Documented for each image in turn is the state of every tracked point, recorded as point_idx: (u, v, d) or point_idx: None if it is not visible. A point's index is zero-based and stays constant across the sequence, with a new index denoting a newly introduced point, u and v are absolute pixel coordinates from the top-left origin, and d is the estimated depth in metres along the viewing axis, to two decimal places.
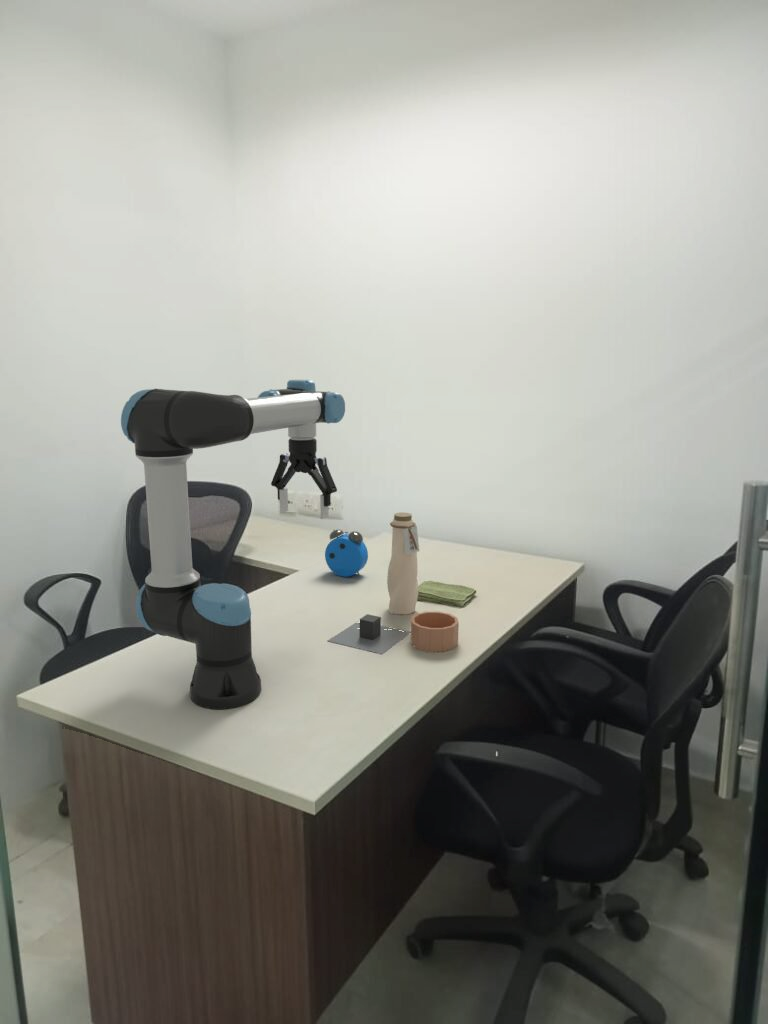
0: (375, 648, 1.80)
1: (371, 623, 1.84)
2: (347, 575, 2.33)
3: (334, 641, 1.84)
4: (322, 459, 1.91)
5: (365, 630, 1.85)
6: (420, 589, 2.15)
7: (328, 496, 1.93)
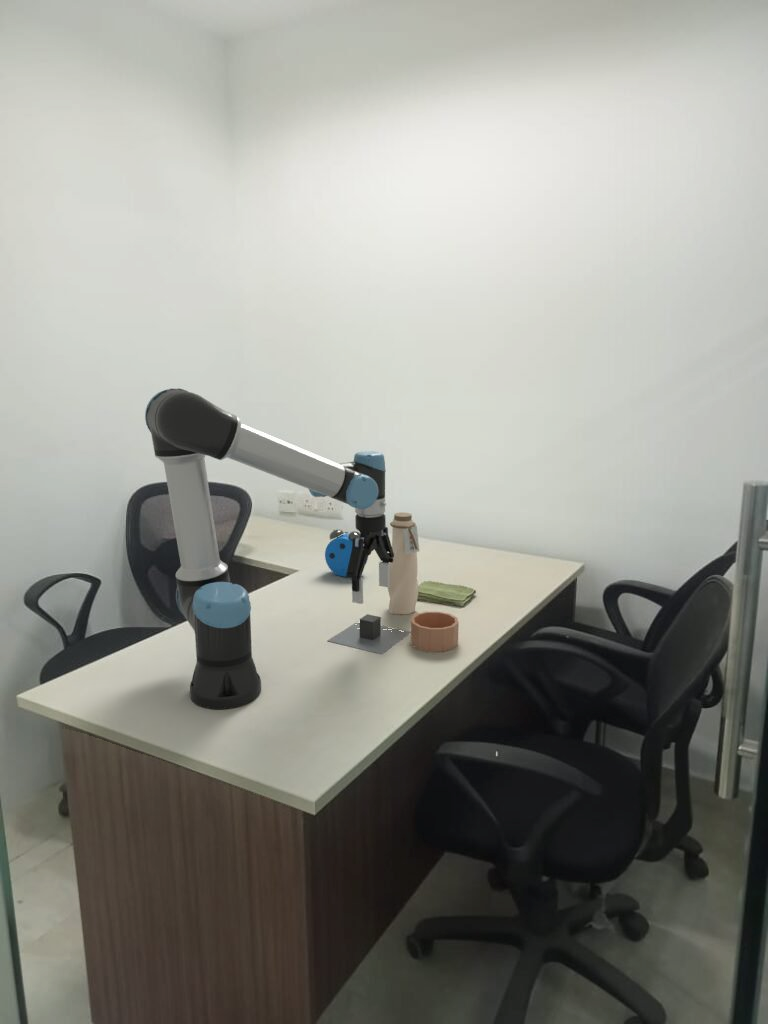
0: (375, 648, 1.80)
1: (371, 623, 1.84)
2: None
3: (334, 641, 1.84)
4: (355, 540, 1.75)
5: (365, 630, 1.85)
6: (420, 589, 2.15)
7: (353, 580, 1.76)
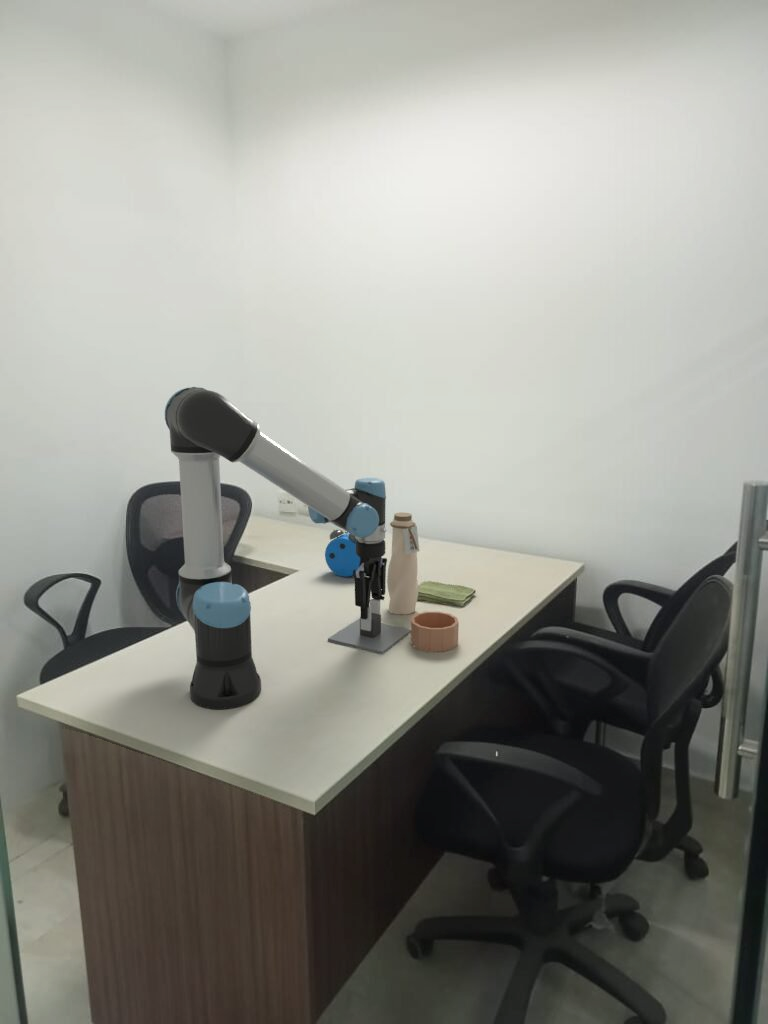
0: (375, 646, 1.80)
1: (371, 620, 1.84)
2: (347, 575, 2.33)
3: (334, 639, 1.84)
4: (355, 573, 1.77)
5: None
6: (420, 589, 2.15)
7: (362, 609, 1.82)
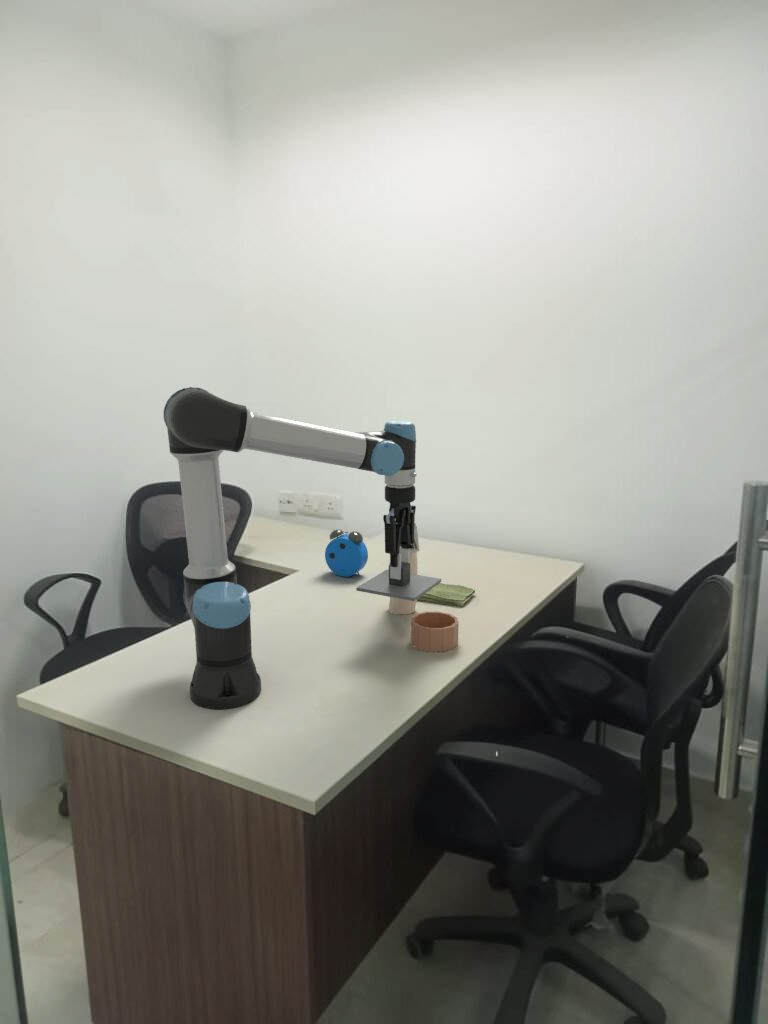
0: (406, 593, 1.75)
1: (401, 568, 1.79)
2: (347, 575, 2.33)
3: (363, 588, 1.79)
4: (385, 518, 1.73)
5: None
6: None
7: (391, 556, 1.77)
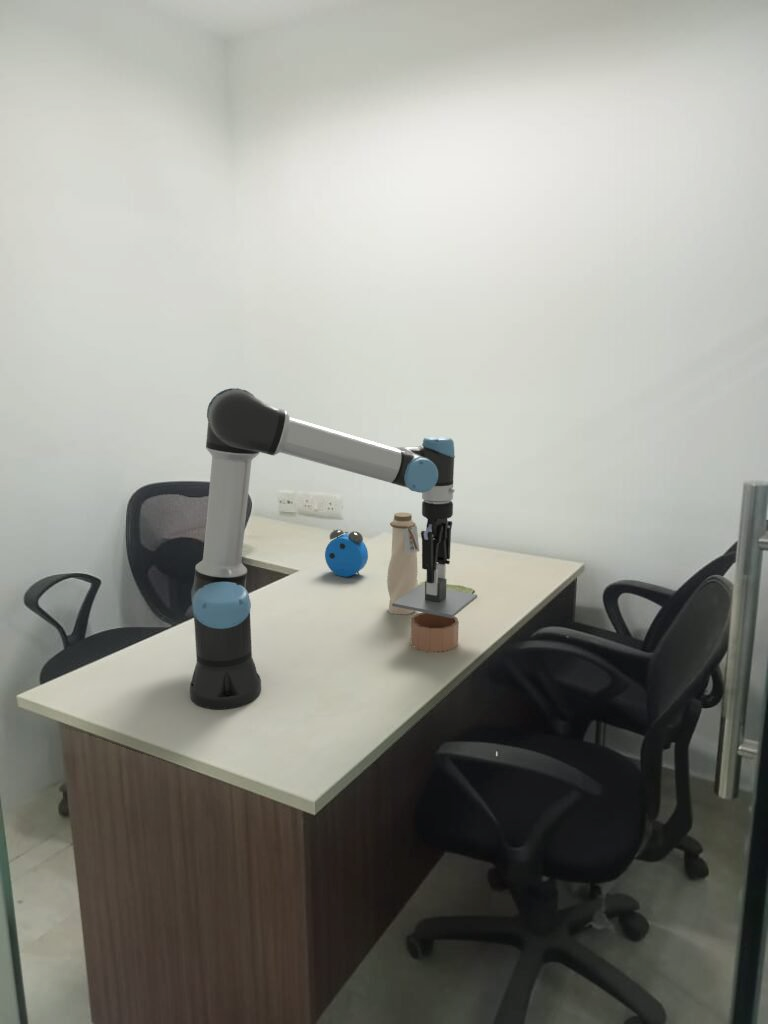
0: (443, 610, 1.74)
1: None
2: (347, 575, 2.33)
3: (399, 603, 1.78)
4: (423, 534, 1.72)
5: None
6: None
7: (428, 572, 1.76)
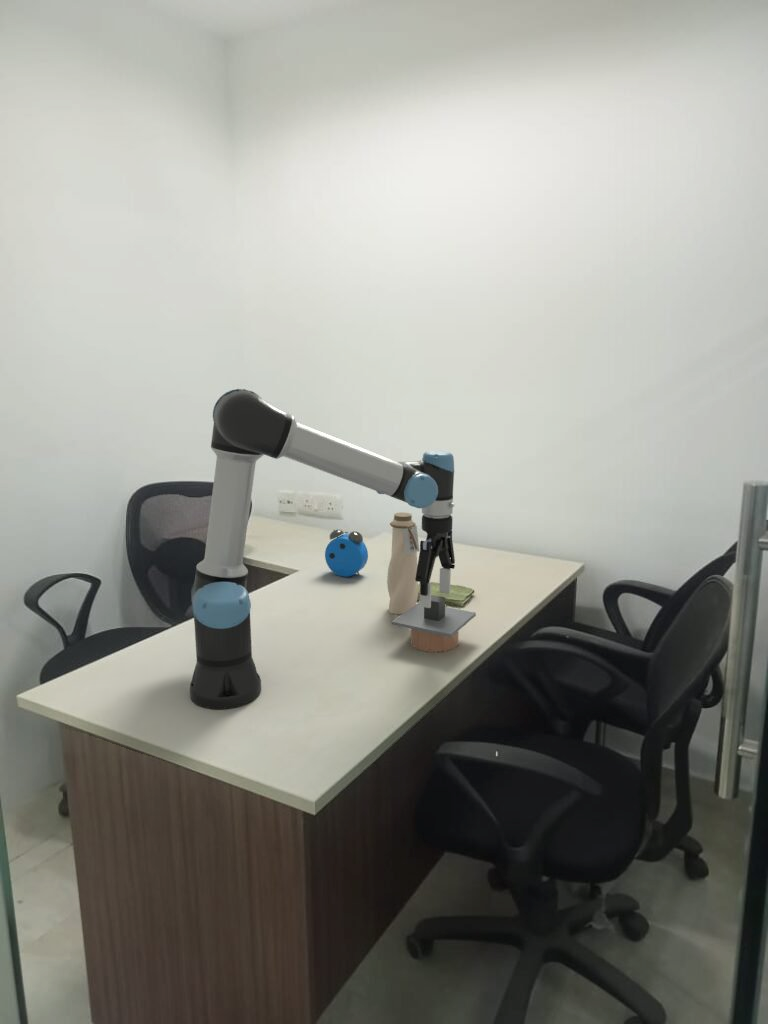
0: (442, 629, 1.75)
1: (436, 603, 1.79)
2: (347, 575, 2.33)
3: (399, 622, 1.79)
4: (422, 543, 1.72)
5: (430, 611, 1.80)
6: (419, 590, 2.15)
7: (422, 584, 1.74)
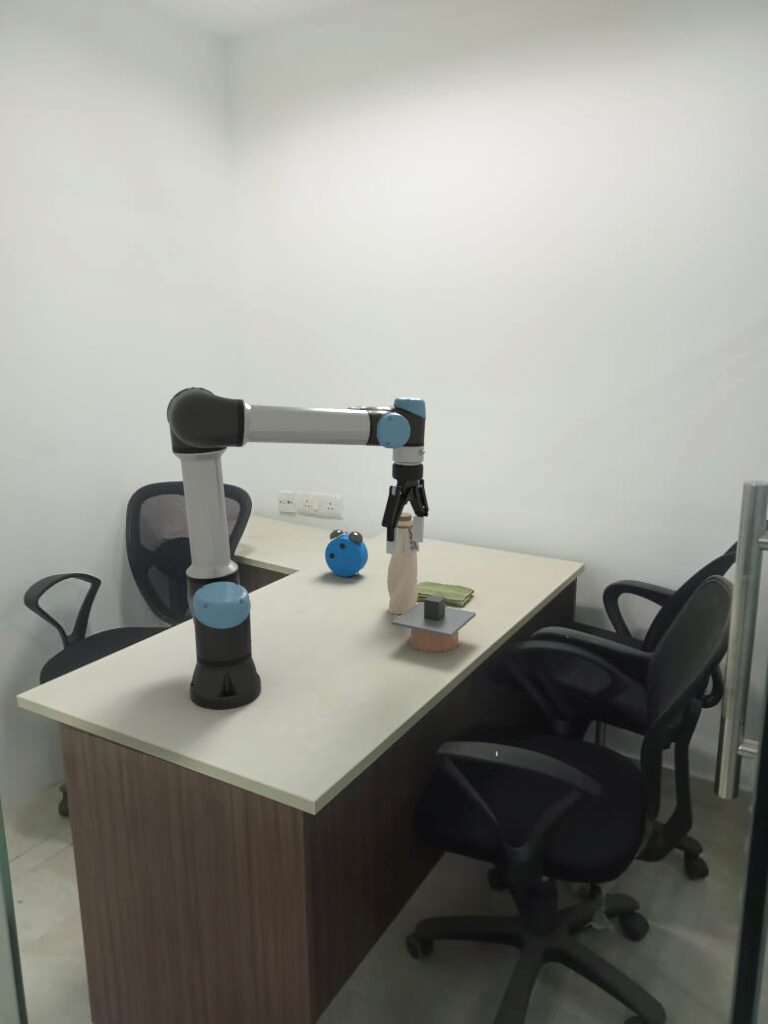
0: (442, 629, 1.75)
1: (436, 603, 1.79)
2: (347, 575, 2.33)
3: (399, 622, 1.79)
4: (392, 487, 1.69)
5: (430, 611, 1.80)
6: (418, 590, 2.14)
7: (388, 530, 1.70)
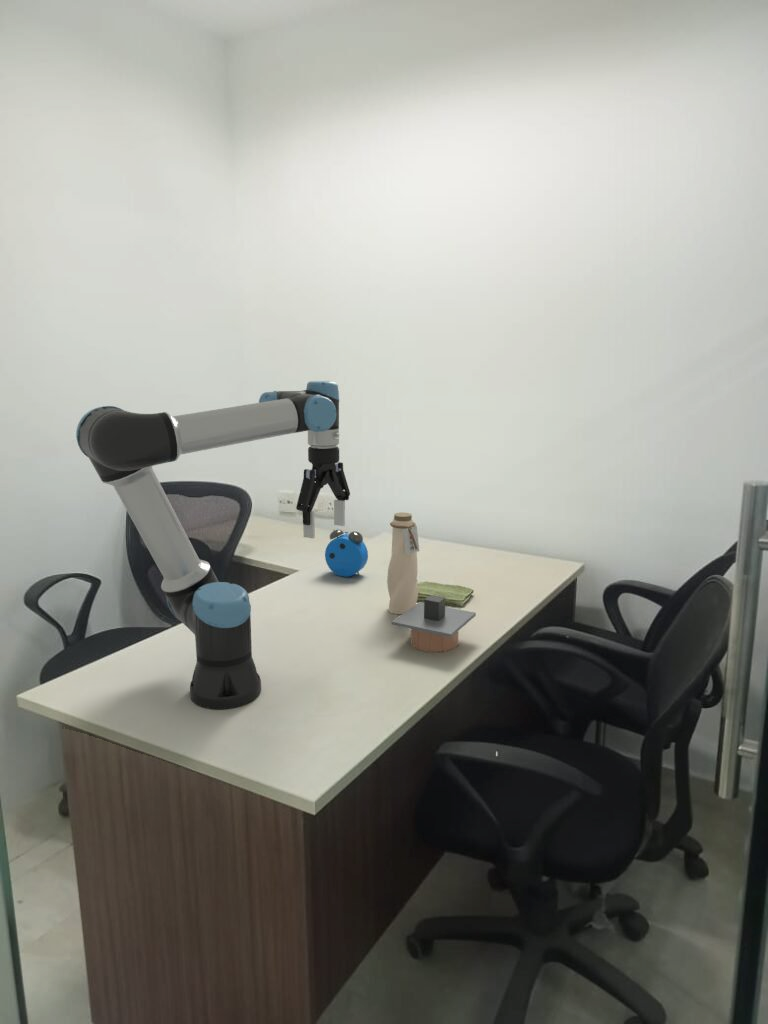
0: (442, 629, 1.75)
1: (436, 603, 1.79)
2: (347, 575, 2.33)
3: (399, 622, 1.79)
4: (306, 471, 1.70)
5: (430, 611, 1.80)
6: (418, 590, 2.14)
7: (304, 513, 1.70)
